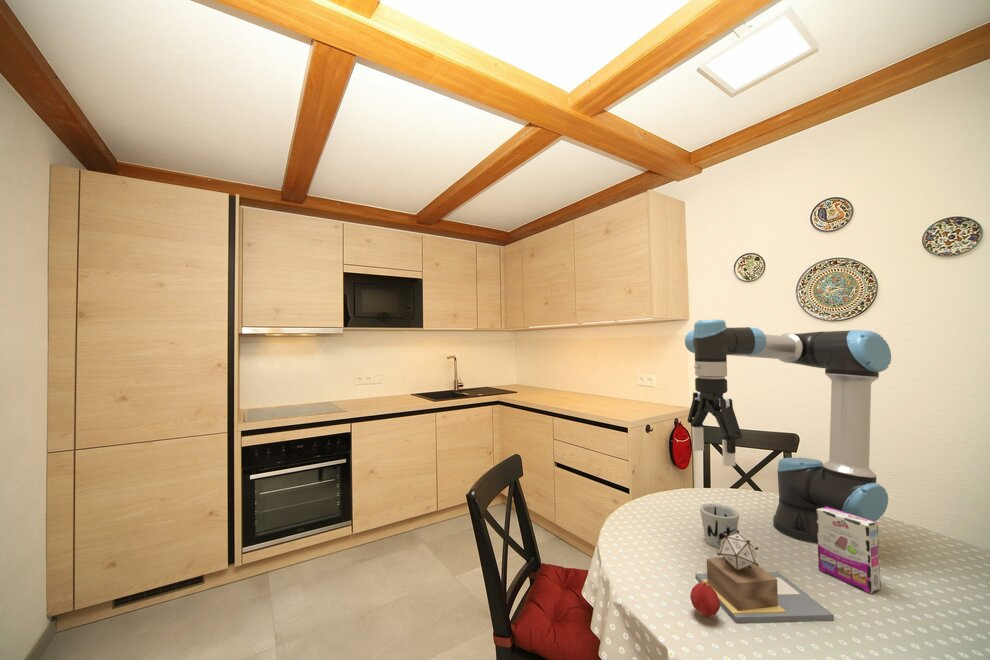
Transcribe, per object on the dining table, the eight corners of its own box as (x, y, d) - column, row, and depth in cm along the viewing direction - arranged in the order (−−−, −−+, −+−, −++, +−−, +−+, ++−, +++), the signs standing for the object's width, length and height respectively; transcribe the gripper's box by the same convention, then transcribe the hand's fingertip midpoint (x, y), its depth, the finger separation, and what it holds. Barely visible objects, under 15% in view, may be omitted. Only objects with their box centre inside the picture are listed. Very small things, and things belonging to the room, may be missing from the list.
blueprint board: (778, 576, 101) (777, 570, 101) (833, 620, 85) (833, 613, 85) (695, 578, 100) (695, 572, 100) (735, 623, 84) (735, 616, 84)
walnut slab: (743, 579, 97) (742, 555, 97) (777, 606, 87) (777, 579, 87) (707, 583, 95) (706, 558, 96) (738, 610, 86) (737, 583, 86)
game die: (748, 587, 90) (775, 566, 85) (712, 572, 91) (737, 551, 86) (737, 551, 98) (762, 529, 92) (704, 538, 98) (727, 516, 93)
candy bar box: (882, 589, 95) (879, 522, 96) (871, 595, 93) (868, 526, 94) (828, 565, 105) (826, 505, 106) (817, 570, 103) (815, 508, 104)
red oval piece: (685, 608, 89) (684, 573, 89) (709, 607, 89) (708, 571, 89) (701, 627, 83) (700, 589, 83) (726, 625, 83) (725, 587, 84)
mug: (702, 548, 114) (701, 514, 115) (697, 526, 128) (696, 495, 129) (743, 555, 111) (742, 520, 111) (733, 531, 124) (732, 500, 125)
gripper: (673, 373, 115) (675, 445, 115) (726, 382, 90) (728, 473, 90) (698, 373, 116) (700, 444, 115) (757, 381, 91) (760, 473, 90)
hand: (712, 457), depth 102 cm, fingers open, 13 cm apart
